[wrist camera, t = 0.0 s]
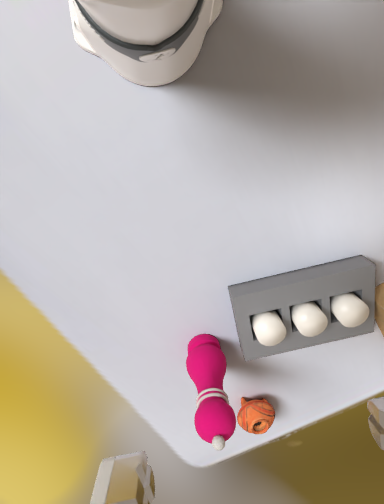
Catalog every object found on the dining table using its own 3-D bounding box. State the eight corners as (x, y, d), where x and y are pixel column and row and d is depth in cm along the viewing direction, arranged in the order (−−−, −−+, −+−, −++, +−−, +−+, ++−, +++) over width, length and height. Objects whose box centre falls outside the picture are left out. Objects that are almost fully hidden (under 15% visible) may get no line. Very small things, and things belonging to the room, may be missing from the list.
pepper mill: (206, 366, 60) (222, 473, 41) (177, 350, 58) (181, 454, 39) (229, 342, 58) (257, 443, 39) (200, 325, 56) (216, 422, 37)
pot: (225, 410, 65) (235, 434, 58) (245, 381, 64) (257, 402, 58) (253, 425, 67) (265, 449, 60) (273, 396, 66) (288, 418, 60)
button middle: (287, 301, 52) (296, 315, 48) (315, 295, 52) (326, 308, 48) (290, 324, 54) (299, 339, 50) (317, 318, 54) (328, 333, 50)
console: (227, 286, 53) (232, 298, 49) (361, 254, 52) (375, 264, 49) (240, 348, 59) (245, 363, 55) (361, 321, 58) (374, 334, 54)
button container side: (326, 292, 52) (339, 306, 48) (354, 286, 52) (369, 298, 48) (327, 315, 54) (340, 330, 50) (354, 309, 54) (369, 323, 50)
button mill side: (248, 310, 52) (254, 325, 49) (276, 304, 52) (284, 318, 48) (252, 333, 54) (259, 348, 51) (279, 327, 54) (287, 342, 50)
